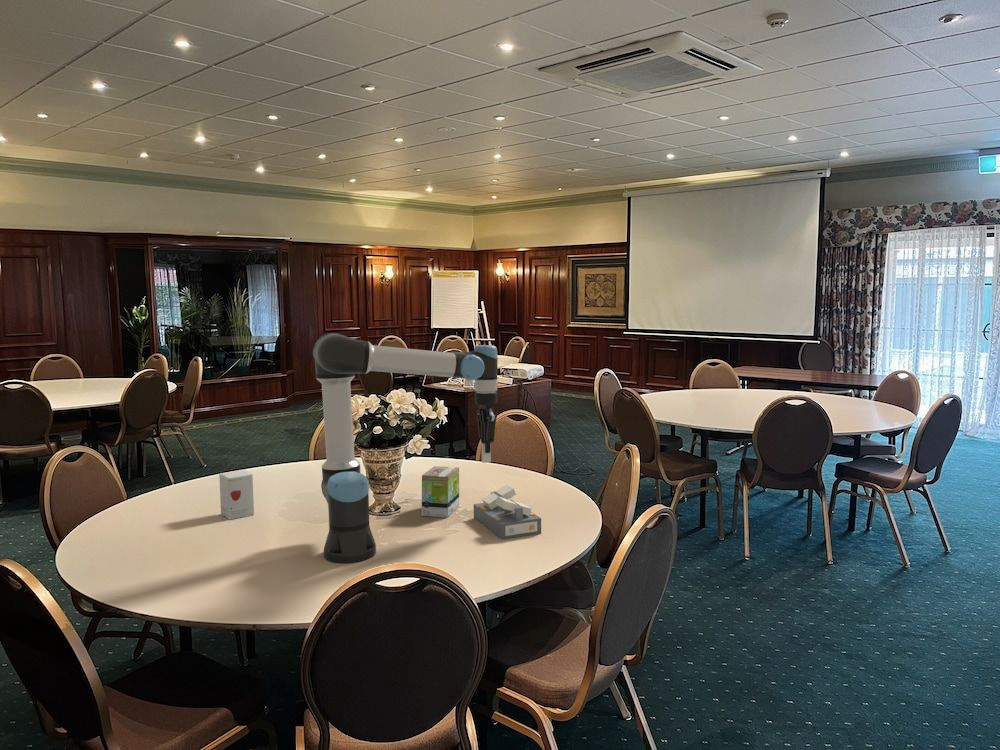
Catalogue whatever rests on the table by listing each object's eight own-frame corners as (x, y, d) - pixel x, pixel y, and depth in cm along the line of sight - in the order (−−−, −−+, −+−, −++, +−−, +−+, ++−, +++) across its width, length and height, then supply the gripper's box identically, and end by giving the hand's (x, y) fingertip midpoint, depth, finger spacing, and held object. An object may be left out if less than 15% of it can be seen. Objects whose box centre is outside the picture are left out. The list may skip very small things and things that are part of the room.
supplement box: (228, 520, 239) (226, 477, 238) (220, 514, 246) (218, 473, 244) (255, 515, 245) (253, 473, 243) (246, 509, 252) (244, 469, 250)
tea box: (449, 518, 239) (448, 476, 238) (421, 516, 241) (420, 475, 240) (460, 505, 254) (459, 466, 252) (433, 504, 256) (433, 465, 254)
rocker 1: (491, 509, 231) (488, 503, 230) (484, 505, 236) (481, 499, 236) (516, 494, 234) (513, 488, 233) (509, 490, 239) (506, 484, 239)
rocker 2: (502, 508, 219) (505, 500, 219) (495, 503, 225) (497, 496, 225) (529, 516, 223) (531, 508, 223) (521, 511, 228) (524, 503, 229)
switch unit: (501, 539, 216) (501, 512, 215) (473, 518, 238) (473, 493, 238) (541, 533, 222) (541, 506, 221) (511, 513, 244) (510, 488, 243)
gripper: (504, 393, 225) (504, 465, 227) (489, 389, 237) (489, 457, 239) (482, 394, 222) (483, 467, 224) (468, 390, 234) (468, 459, 236)
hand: (486, 461), depth 232 cm, fingers closed
